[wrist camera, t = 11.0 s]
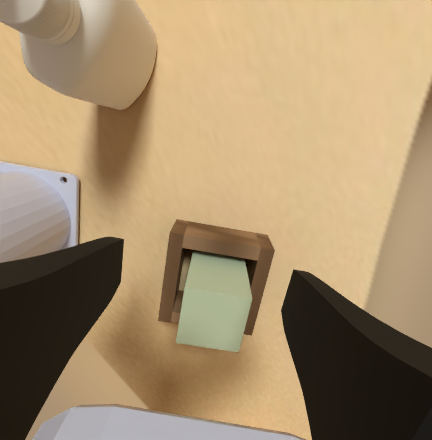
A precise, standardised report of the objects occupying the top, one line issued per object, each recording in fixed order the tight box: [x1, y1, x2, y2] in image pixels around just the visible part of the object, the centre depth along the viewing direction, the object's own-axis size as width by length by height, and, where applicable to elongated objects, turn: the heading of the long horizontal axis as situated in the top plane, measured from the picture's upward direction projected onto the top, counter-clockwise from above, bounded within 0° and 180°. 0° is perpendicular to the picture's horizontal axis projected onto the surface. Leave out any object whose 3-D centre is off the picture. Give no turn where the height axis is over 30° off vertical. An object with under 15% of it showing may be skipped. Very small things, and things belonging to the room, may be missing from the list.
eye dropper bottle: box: [0, 0, 157, 110], centre depth 12 cm, size 4×6×12 cm
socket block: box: [158, 220, 275, 335], centre depth 21 cm, size 8×8×3 cm
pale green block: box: [176, 250, 252, 353], centre depth 19 cm, size 4×4×7 cm
